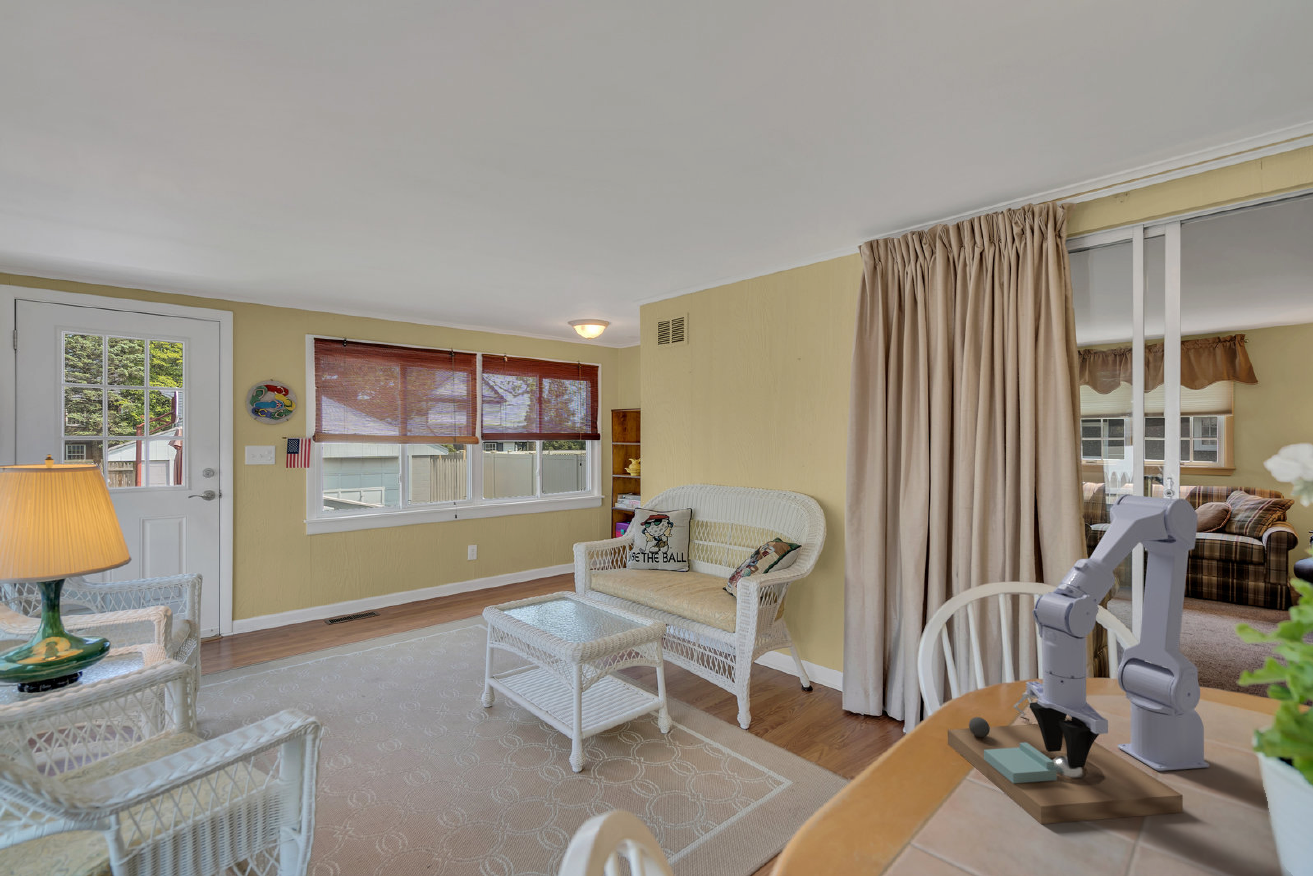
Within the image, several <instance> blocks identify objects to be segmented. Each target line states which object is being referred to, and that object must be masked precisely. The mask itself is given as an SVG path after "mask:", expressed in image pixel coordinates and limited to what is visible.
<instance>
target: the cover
mask: <svg viewBox="0 0 1313 876" xmlns="http://www.w3.org/2000/svg"><path fill="white" fill-rule="evenodd" d="M984 760H985V761H987V762H988V763H989V764H990V765H992V766H993V767H994V768H995V769H996V770H998V771H999V772H1000V773H1001V774H1003V775H1004V776H1005V777H1006V778H1007V779H1009V780H1010V781H1011V782H1012V783H1025V782H1038V781H1052V780H1057V770H1056V769H1054V761H1052V760H1051V759H1049V758H1048V757H1047V756H1045V755H1044V754H1042V753H1041V752H1039V751H1038V750H1037V749H1035V748H1034V747H1032V746H1031V745H1029V744H1028V743H1027V742H1025V743H1020V747H1018V748H1004V749H989V750H984Z"/></svg>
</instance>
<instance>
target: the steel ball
mask: <svg viewBox="0 0 1313 876" xmlns="http://www.w3.org/2000/svg"><path fill="white" fill-rule="evenodd" d="M1052 761H1054V769H1056V770H1057V774H1059V775H1062V776H1066V777H1072V778H1082V777H1084V773H1083V770H1082V768H1081V767H1080V768H1072V767H1070V766H1069V764H1068V760H1067V757H1066V756H1059V757H1056V758H1055V759H1053V760H1052Z"/></svg>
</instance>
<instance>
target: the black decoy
mask: <svg viewBox="0 0 1313 876" xmlns="http://www.w3.org/2000/svg"><path fill="white" fill-rule="evenodd" d="M968 727H969V729H970V731H971V732H972V733H973V734H974V735H975V736H977V737H985V736H987V735H988V734H989V731H990V727H991V726H990V723H988V721H986V719H984V718H983V717H980V716H976V717H973V718H971V719H970V721H969V722H968Z"/></svg>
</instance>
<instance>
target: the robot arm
mask: <svg viewBox="0 0 1313 876" xmlns="http://www.w3.org/2000/svg"><path fill="white" fill-rule="evenodd" d="M1109 518H1110V519H1109V520H1110V524H1109V526H1108V528H1107V529H1106V531H1105V532H1104V534H1103V536H1102V537H1101V539H1100V541H1099V543H1098V544H1097V546H1096V547H1095V549H1094V551H1093V552H1092V554H1091V555H1090V557H1089V558H1080V559H1077V560H1076V562H1075V563H1074V564H1073V565H1072V567H1071V569H1070V570H1068V572H1067V573H1066V574H1065V576H1064V577H1063V578H1062V580H1061V581H1060V582H1059V583H1058V585H1057V586H1056V588H1055V589H1054V590H1053V591H1051V592H1049V591H1048V592H1047V593H1045V594H1044V593H1043V594H1042V595H1040V596H1039V597H1038V598H1037V600H1036V602H1035V604H1034V609H1032V617H1033V619H1034V622H1035V623H1036V624H1037V628H1038V635H1039V637H1040V638H1041V640H1042V649H1041V650H1042V683H1041V682H1039V681H1026V682H1025V685H1026V686H1025V687H1026V690H1025V691H1027V694H1029V695H1031V696H1036V697H1038V698H1036V699H1037V700H1036V701H1035V702H1034V701H1032V703H1030V702H1029V705H1030V707H1029V709H1030V711H1031V713H1032V714H1033V716H1034V718H1035V720H1036V722H1037V724H1039V727H1040V730H1041V733H1042V737H1043V740H1044V744H1045V747H1046V750H1047V751H1049V752H1054V751H1061V748H1062V740H1063V734H1064V738H1065V742H1066V750H1067V760H1068V764H1069V766H1070V767H1072V768H1080V767H1084V766H1085V762H1086V759H1087V756H1088V753H1089V750H1090V748H1091V746H1092V744H1093V742H1096V741H1095V740H1096V739H1097V738H1098V737H1099V735H1103V734H1104V735H1105V734H1109V720H1108V719H1106V718H1104V716H1102V715H1100V714H1099V712H1097V711H1096V710H1095V708H1093V707H1092V706H1091V705H1090V704H1089V703H1088V702H1087V636H1088V635H1090V634H1091V632H1092V631H1093V630H1094V628H1095V625H1096V621H1097V616H1098V614H1099V610H1100V607H1099V605H1100V603H1101V602H1102V601H1103V600H1104V598H1105V597H1106V596H1107V594H1108V593H1109V591H1110V590H1111V588H1112V587H1113V586H1114V584H1115V583H1116V578H1115V574H1114V571H1115V569H1116V568H1117V567H1118V566H1119V565H1120V564H1121V563H1122V562H1123V561H1124V560H1125V558H1127V556H1128V555H1129V554H1130V553H1131V552H1132V551H1133V550H1134V549H1135V548H1136V547H1137V546H1138V545H1139V543H1140V544H1141V545H1142V546H1143V547H1144V549H1145V550H1146V551H1147V564H1146V574H1145V584H1144V585H1145V586H1144V596H1143V606H1142V614H1141V615H1142V616H1141V624H1140V634H1139V635H1140V637H1139V643H1137V644H1134V645H1132V646H1130V647H1128V648H1125V649H1124V650H1123V654H1122V659H1121V662H1120V664H1119V666H1118V668H1117V670H1116V671H1117V672H1116V678H1117V679H1116V680H1117V683H1118V685H1119V688H1120V690H1122V691H1123V692H1124V693H1125V698H1126V699H1127V700H1130V743H1119V744H1117V748H1118V749H1120V750H1122V751H1123V752H1125V753H1127V754H1129V755H1130V756H1132V757H1133V758H1135V759H1136V760H1138V761H1140V762H1142V763H1144V764H1145V765H1147V766H1148V767H1151V768H1152V769H1154V770H1156V771H1159V772H1162V771H1174V770H1176V771H1178V770H1187V769H1200V768H1209V767H1210V764H1209V763H1208V762H1206V761H1205V731H1204V730H1205V728H1204V727H1205V726H1204V723H1203V720H1202V718H1201V716H1200V714H1199V713H1198V712H1197V710H1195V708H1196V707H1198V705H1199V703H1200V698H1201V689H1200V687H1201V686H1200V684H1199V680H1198V670H1199V669H1198V667H1197V666H1196V665H1195V663H1193V662H1192V661H1190V659H1189V658H1188V657H1186V656H1185V655H1184V654H1183V653H1182V652H1181V651H1180V644H1181V634H1182V633H1181V631H1182V623H1183V622H1182V621H1183V613H1184V612H1183V611H1184V601H1185V600H1184V599H1185V589H1186V578H1187V569H1188V558H1189V551H1192V550H1195V546H1196V541H1197V529H1198V519H1199V515H1198V513H1197V511H1196V510H1195V509H1194V507H1193V505H1192V504H1191V503H1190V502H1189V501H1188V500H1187V499H1185V498H1168V497H1157V496H1156V497H1155V496H1154V497H1153V496H1145V495H1144V496H1142V495H1132V494H1130V493H1129V494H1128V493H1124V494H1121V495H1119V496H1118V497H1117V498H1116V500H1115V501H1114V502H1113V505H1112V506H1111V507H1110V509H1109ZM1067 716H1068V717H1070V718H1071V720H1070V719H1067ZM1065 719H1066V720H1065Z"/></svg>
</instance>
